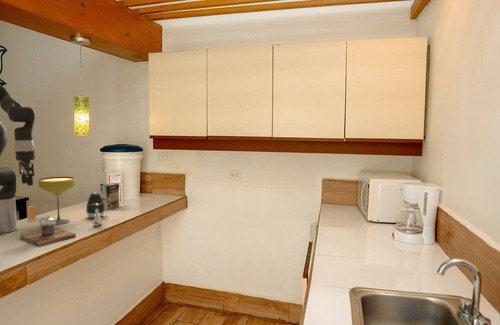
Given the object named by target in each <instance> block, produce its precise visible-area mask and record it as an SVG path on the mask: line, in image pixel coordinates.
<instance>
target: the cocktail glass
mask: <svg viewBox="0 0 500 325" xmlns="http://www.w3.org/2000/svg"><path fill="white" fill-rule="evenodd" d="M37 184H38V187H39V188H40V189H41V190H43V191H45V192H48V193H51V194H52V195H54V196H55V197H56V199H57V200H56V201H57V204H56V205H57V218H56V219H55V222H56V225H55V226H58V225H65V224H69V223H70V219H64V218H63V219H62V218H61V217H60V204H59V197H60V196H61V195H62V194H63V193H64V192H66V191H68V190H70V189H71V188H73V187H74V186H75V185H76V179H75V177H73V176H53V177H52V176H51V177H44V178H40V179H38V183H37Z"/></svg>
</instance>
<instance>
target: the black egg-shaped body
mask: <svg viewBox="0 0 500 325" xmlns="http://www.w3.org/2000/svg"><path fill="white" fill-rule="evenodd" d="M93 203H103V200H102V195H101V194H100V193H99V192H96V191H95V192H92V193H90V195H89V197H88V199H87V203H86V207H85V208H86V211H85V212H86V214H87V216H88V217H89V218H91V219H95V217H94V215H95V214H96V213H95V210H96V209H95V208H94V207H91V206H90V204H93ZM98 210H99V214H100V218H102V216H103V215H104V212H105V211H106V209H105V208H104V204H103V206H102V205H101V207H99V209H98Z"/></svg>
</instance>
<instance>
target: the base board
mask: <svg viewBox="0 0 500 325" xmlns="http://www.w3.org/2000/svg"><path fill="white" fill-rule="evenodd" d="M76 235H77V234H76V233H74V232H71V231H68V230H65V229H62V228H59V227H55V225H54V226H50V227H41V230H39V231H38V230H37V231H34V232H30V233H25V234H21V235H19V236H20V239H21V240H23V241H26V242H29V243H31V244H33V245H36V246H38V247H42V246H45V245H49V244H55V243H58V242H62V241H65V240H69V239H73V238H76Z"/></svg>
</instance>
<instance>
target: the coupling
mask: <svg viewBox="0 0 500 325" xmlns="http://www.w3.org/2000/svg"><path fill="white" fill-rule="evenodd" d="M26 207H27V209H26V210H27V223H29V224H31V223H36V222H39V227H40V228H42V227H50V226H54V227H55V226H57V225H56V222H55V220H56V217H54V216H50V215H48V214H47V215H42V216H37V217H36V215H37V214H36V213H37V212H36V206H35V205H30V206H28V205H27V206H26Z"/></svg>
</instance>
